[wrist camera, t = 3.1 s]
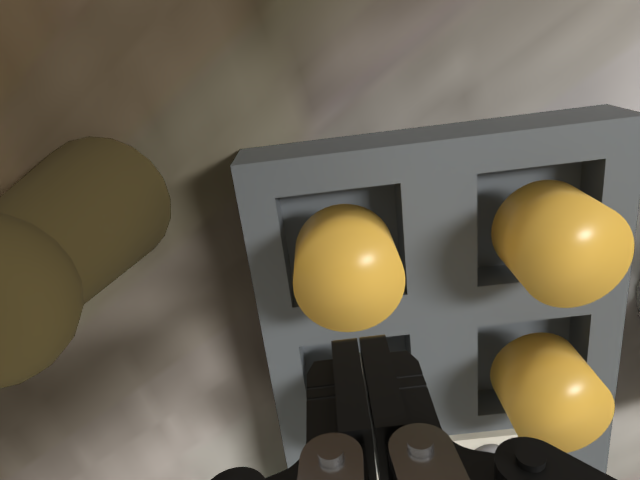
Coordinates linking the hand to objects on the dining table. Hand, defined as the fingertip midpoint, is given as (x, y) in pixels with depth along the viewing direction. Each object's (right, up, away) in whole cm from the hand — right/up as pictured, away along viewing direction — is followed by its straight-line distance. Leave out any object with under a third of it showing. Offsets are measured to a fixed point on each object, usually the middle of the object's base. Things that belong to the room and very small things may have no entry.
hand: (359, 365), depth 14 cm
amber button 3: (+9, -3, +9) cm, 13 cm away
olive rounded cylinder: (-11, +5, +9) cm, 15 cm away
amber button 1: (0, +3, +7) cm, 8 cm away
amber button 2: (+8, +4, +7) cm, 11 cm away
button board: (+5, -1, +12) cm, 13 cm away
